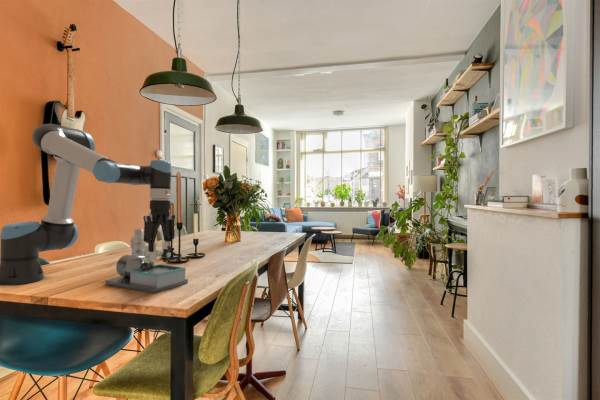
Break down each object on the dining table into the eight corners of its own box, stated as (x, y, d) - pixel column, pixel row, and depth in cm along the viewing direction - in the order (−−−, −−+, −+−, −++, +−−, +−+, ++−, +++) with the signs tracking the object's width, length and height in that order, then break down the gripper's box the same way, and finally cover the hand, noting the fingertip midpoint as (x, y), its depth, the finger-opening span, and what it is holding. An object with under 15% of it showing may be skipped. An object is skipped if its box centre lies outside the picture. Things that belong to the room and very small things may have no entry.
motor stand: (105, 284, 126) (106, 257, 126) (142, 275, 141) (143, 251, 141) (153, 293, 115) (154, 264, 115) (187, 282, 131) (188, 257, 131)
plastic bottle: (145, 274, 144) (146, 229, 144) (128, 275, 142) (129, 229, 142) (146, 271, 150) (147, 228, 150) (130, 271, 148) (131, 228, 148)
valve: (138, 262, 125) (163, 265, 121) (138, 245, 125) (163, 247, 121) (151, 259, 131) (175, 262, 127) (151, 243, 131) (175, 245, 127)
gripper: (147, 199, 116) (146, 263, 116) (184, 200, 133) (183, 256, 133) (133, 199, 119) (131, 261, 119) (171, 199, 136) (170, 254, 136)
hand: (159, 258), depth 126 cm, fingers closed on valve, 5 cm apart
